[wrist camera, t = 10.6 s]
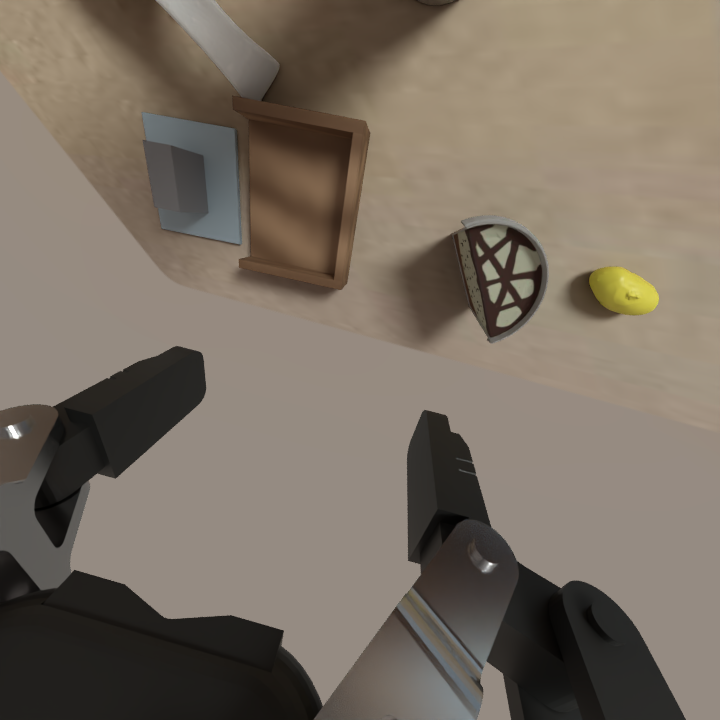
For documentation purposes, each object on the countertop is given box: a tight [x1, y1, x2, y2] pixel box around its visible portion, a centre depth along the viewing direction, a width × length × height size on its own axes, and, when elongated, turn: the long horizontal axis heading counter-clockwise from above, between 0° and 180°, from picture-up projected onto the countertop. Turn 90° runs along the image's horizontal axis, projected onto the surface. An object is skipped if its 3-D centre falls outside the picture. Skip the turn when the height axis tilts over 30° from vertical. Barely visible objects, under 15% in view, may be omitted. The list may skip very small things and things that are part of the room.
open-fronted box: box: [233, 96, 370, 290], centre depth 31 cm, size 16×13×4 cm
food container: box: [452, 215, 549, 343], centre depth 28 cm, size 12×6×10 cm, turn 22°
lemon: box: [589, 267, 659, 315], centre depth 30 cm, size 4×8×4 cm, turn 57°
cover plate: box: [142, 112, 242, 244], centre depth 31 cm, size 12×11×6 cm
